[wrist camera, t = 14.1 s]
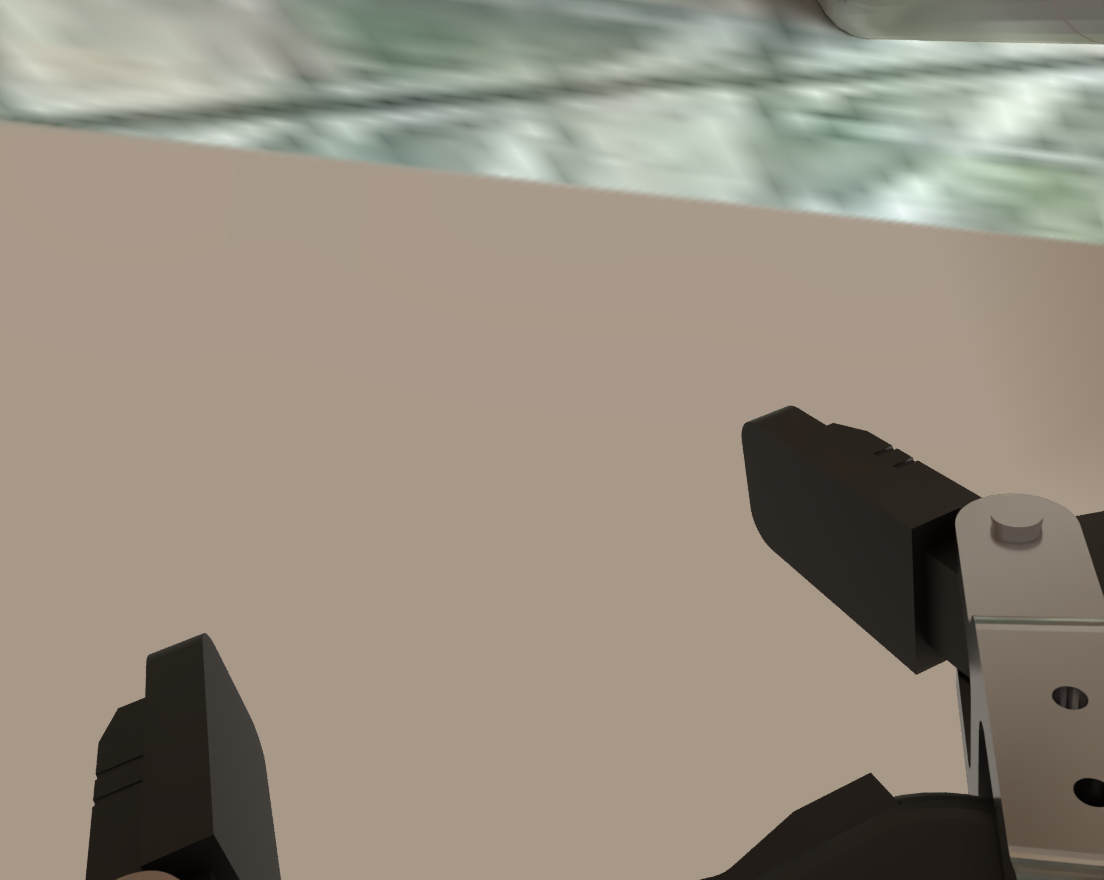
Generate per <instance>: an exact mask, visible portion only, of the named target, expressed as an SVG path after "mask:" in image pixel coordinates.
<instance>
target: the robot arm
mask: <svg viewBox="0 0 1104 880" xmlns="http://www.w3.org/2000/svg"><path fill="white" fill-rule="evenodd" d="M818 2H819V4H820V5H821V7H822V9H823V10H824V12H825V14H826V15H827V16H828V17H829V18H830V19H831V20H832V21H833V22H834V23H835V24H836V25H837V26H838V27H839V28H841V29H842V30H844V31H846V32H847V33H849V34H851V35H853V36H857V37H861V38H865V39H888V40H921V41H963V42H1011V43H1059V44H1104V0H818ZM742 444H743V453H744V460H745V468H746V475H747V483H748V491H749V498H750V506H751V512H752V516H753V519H754V522H755V524H756V527H757V529H758V531H759V533H760V535H761V537H762V538H763V540H764V541H765V543H766V544H767V545H768V546H769V547H770V548H771V549H772V550H773V551H774V552H775V553H776V554H778V555H779V556H780V557H781V558H782V559H783V560H785V561H786V562H787V563H788V564H789V565H790V566H791V567H793V568H794V569H795V570H796V571H797V572H798V573H800V574H801V575H802V576H803V577H804V578H805V579H807V580H808V581H809V582H810V583H811V584H812V585H813V586H815V587H816V588H817V589H818V590H819V591H820V592H821V593H823V594H824V595H825V596H826V597H827V598H828V599H830V600H831V601H832V602H833V603H834V604H836V605H837V606H838V607H839V608H840V609H841V610H842V611H843V612H845V613H846V614H847V615H848V616H849V617H850V618H852V619H853V620H854V621H855V622H856V623H857V624H859V625H860V626H861V627H862V628H863V629H864V630H865V631H866V632H868V633H869V634H870V635H871V636H872V637H874V638H875V639H876V640H877V641H878V642H879V643H880V644H881V645H883V646H884V647H885V648H886V649H887V650H888V651H890V652H891V653H892V654H893V655H894V656H895V657H897V658H898V659H899V660H900V661H901V662H902V663H903V664H905V665H906V666H907V667H908V668H909V669H910V670H911V671H913V672H914V673H915V674H916V675H917V674H919V673H921V672H923V671H925V670H927V669H929V668H931V667H933V666H935V665H938V664H940V663H942V662H944V661H946V660H948V661H949V662H950V663H951V664H953V665H954V666H955V667H956V689H957V697H958V706H959V715H960V724H961V732H962V740H963V750H964V758H965V768H966V776H967V785H968V794H957V793H947V792H946V793H916V794H908V795H900V796H895V797H893V796H892V795H891V794H890V793H889V792H888V791H887V790H886V789H885V787H884V786H883V785H882V784H881V783H880V782H879V781H878V780H877V779H876V778H875V777H874V776H873V775H872V774H871V773H869V774H867V775H865V776H863V777H861V778H859V779H857V780H855V781H853V782H851V783H849V784H847V785H845V786H843V787H841V788H839V789H838V790H835V791H834V792H831V793H829V794H827V795H826V796H824V797H822V798H820V799H818V800H816V801H814V802H812V803H810V804H808V805H806V806H804V807H802V808H800V809H798V810H796V811H794V812H793V813H792V814H791V815H789V816H788V817H787V818H786V819H785V820H784V821H783V822H782V823H780V824H779V825H778V826H777V827H776V828H775V829H774V830H773V831H772V832H770V833H769V834H768V835H767V836H766V837H765V838H764V839H763V840H761V841H760V842H759V843H758V844H757V845H756V846H755V847H754V848H752V849H751V850H750V851H749V852H748V853H747V854H746V855H745V856H743V857H742V858H741V859H740V860H739V861H738V862H737V863H736V864H735V865H733V866H732V867H731V868H730V869H728V870H727V871H726V872H724V873H722V874H720V875H717V876H714V877H709V878H705V879H701V880H1104V511H1102V512H1097V513H1091V514H1086V515H1080V516H1074V514H1073V513H1072V512H1070V511H1069V510H1068V509H1067V508H1065V507H1063V506H1062V505H1060V504H1058V503H1055V502H1053V501H1051V500H1048V499H1045V498H1041V497H1037V496H1032V495H1024V494H998V495H992V496H987V497H983V498H982V497H980V496H978V495H976V494H975V493H973V492H971V491H969V490H968V489H966V488H964V487H963V486H961V485H959V484H957V483H956V482H954V481H952V480H950V479H949V478H947V477H945V476H943V475H942V474H940V473H938V472H937V471H935V470H933V469H931V468H930V467H928V466H926V465H924V464H923V463H921V462H920V461H916V462H914V460H913V458H912V457H911V456H909V455H907V454H906V453H904V452H902V451H901V450H899V449H895V450H894V449H893V447H892V445H890V444H888V443H887V442H885V441H883V440H881V439H880V438H878V437H876V436H875V435H873V434H871V433H869V432H868V431H864V430H860V429H856V428H852V427H848V426H844V425H840V424H835V423H832V424H830V425H825V424H823V423H821V422H820V421H818V420H817V419H815V418H813V417H812V416H810V415H808V414H807V413H805V412H803V411H802V410H800V409H799V408H797V407H795V406H787V407H784V408H782V409H780V410H777V411H774V412H772V413H769V414H767V415H764V416H761V417H759V418H756V419H754V420H751V421H749V422H747V423H745V424H744V426H743V428H742ZM146 663H147V664H146V693H145V698H143V699H140V700H138V701H136V702H133V703H131V704H128V705H126V706H123V707H120V708H118V710H117V712H116V713H115V715H114V717H113V719H112V720H111V722H110V724H109V726H108V727H107V729H106V731H105V732H104V734H103V736H102V738H101V739H100V741H99V744H98V755H97V765H96V776H97V780H95V786H94V797H93V801H94V803H95V806H93V808H92V818H91V829H90V839H89V849H88V860H87V870H86V880H281V877H280V869H279V863H278V855H277V847H276V839H275V832H274V824H273V817H272V810H271V802H270V794H269V787H268V780H267V773H266V765H265V759H264V754H263V750H262V747H261V743H260V740H259V737H258V734H257V732H256V729H255V726H254V724H253V722H252V719H251V717H250V715H249V713H248V711H247V709H246V707H245V705H244V703H243V701H242V699H241V697H240V695H239V693H238V691H237V689H236V687H235V685H234V683H233V681H232V679H231V677H230V675H229V673H228V671H227V669H226V667H225V665H224V663H223V661H222V659H221V657H220V655H219V653H218V651H217V649H216V647H215V645H214V643H213V642H212V640H211V639H210V637H209V636H208V635H207V634H206V633H203V634H201V635H198V636H196V637H193V638H190V639H188V640H186V641H183V642H181V643H178V644H175V645H173V646H170V647H168V648H165V649H162V650H160V651H157V652H155V653H152V654H150V655H148V657H147V662H146Z"/></svg>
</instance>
